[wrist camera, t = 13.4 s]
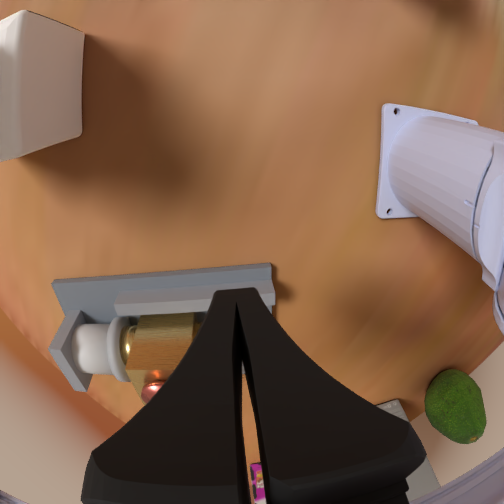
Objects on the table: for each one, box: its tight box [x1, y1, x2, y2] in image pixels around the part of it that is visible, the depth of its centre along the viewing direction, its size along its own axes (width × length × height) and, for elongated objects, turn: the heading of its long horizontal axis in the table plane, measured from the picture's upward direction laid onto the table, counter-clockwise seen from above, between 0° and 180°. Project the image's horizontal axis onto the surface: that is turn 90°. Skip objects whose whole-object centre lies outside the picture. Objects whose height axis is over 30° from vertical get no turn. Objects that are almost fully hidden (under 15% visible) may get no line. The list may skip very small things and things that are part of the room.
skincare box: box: [377, 399, 441, 502], centre depth 27 cm, size 8×7×16 cm
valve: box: [119, 312, 202, 405], centre depth 19 cm, size 7×4×7 cm, turn 93°
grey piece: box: [48, 263, 275, 392], centre depth 20 cm, size 17×10×5 cm, turn 93°
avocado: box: [425, 369, 486, 444], centre depth 27 cm, size 8×8×12 cm
